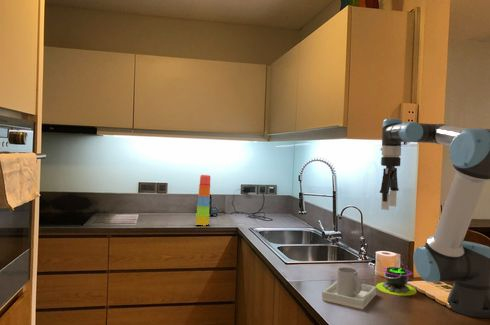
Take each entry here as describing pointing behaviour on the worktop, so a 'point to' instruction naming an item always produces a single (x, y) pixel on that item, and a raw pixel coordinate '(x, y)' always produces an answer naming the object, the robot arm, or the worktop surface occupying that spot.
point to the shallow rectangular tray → (356, 302)
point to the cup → (348, 282)
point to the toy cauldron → (396, 282)
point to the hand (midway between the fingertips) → (388, 207)
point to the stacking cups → (203, 201)
